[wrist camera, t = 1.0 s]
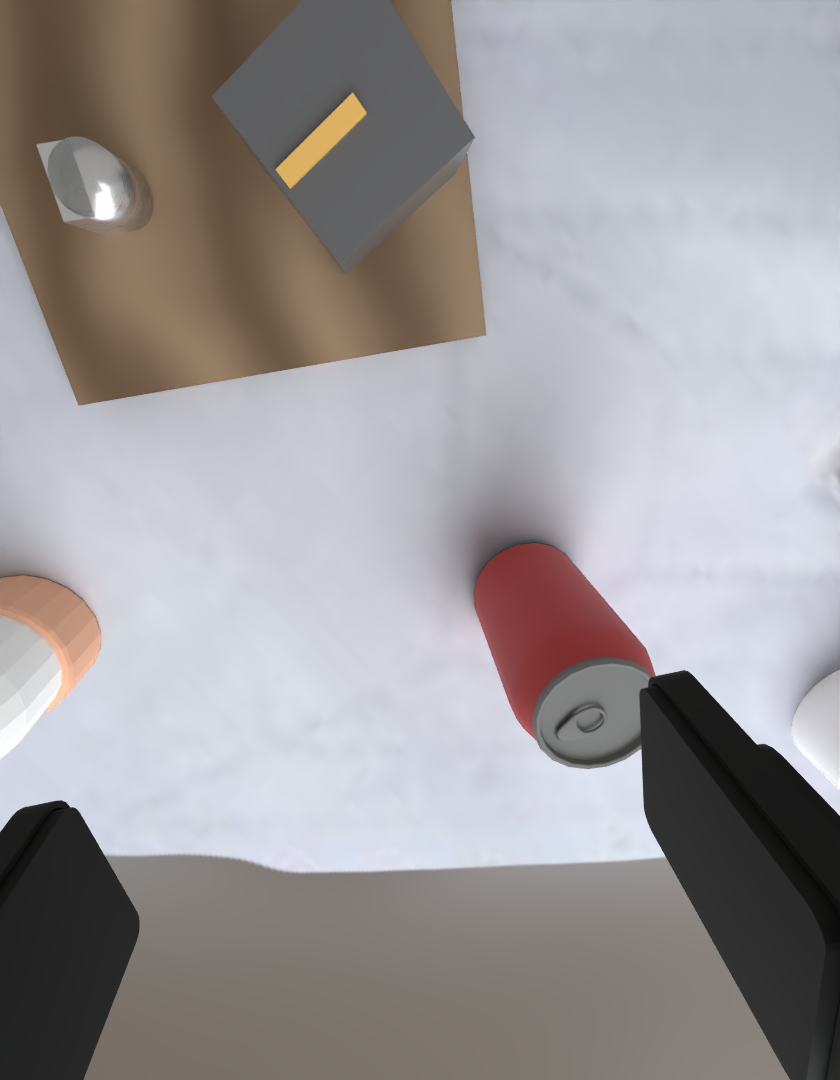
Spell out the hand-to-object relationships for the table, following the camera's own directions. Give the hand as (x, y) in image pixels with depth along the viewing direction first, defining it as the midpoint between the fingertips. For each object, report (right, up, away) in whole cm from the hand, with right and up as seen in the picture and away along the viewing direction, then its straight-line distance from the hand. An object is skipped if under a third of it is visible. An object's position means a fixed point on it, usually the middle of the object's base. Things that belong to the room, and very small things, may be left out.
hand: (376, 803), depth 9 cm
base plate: (-7, +20, +16) cm, 27 cm away
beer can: (+7, +1, +25) cm, 26 cm away
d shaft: (-12, +19, +14) cm, 27 cm away
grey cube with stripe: (-2, +21, +14) cm, 25 cm away
